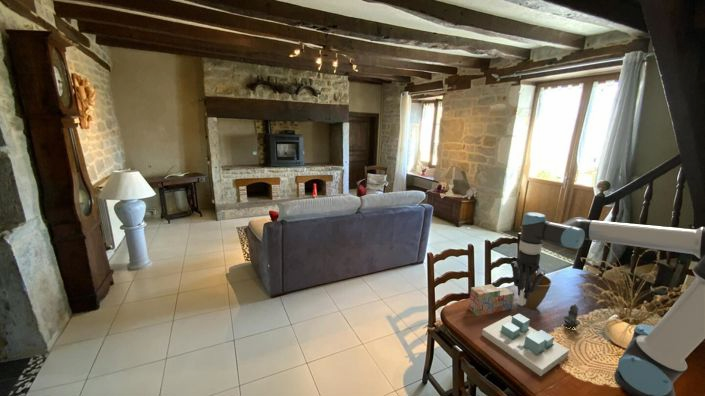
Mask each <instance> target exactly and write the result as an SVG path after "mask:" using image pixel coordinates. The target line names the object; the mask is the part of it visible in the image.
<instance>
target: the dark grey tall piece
mask: <svg viewBox="0 0 705 396" xmlns="http://www.w3.org/2000/svg"><path fill="white" fill-rule="evenodd" d="M567 312H568V315H566V316H564V317H563V320H564V323H563V324H562V326H563V327H564V326H565V327H567V328H570V327H571V328H570V329H572V328H573V327H576V328H577V327H578V326H579V325H580V321H579V320H578V318H577V317H578V315H579V313H578V312H579V307H578V306H577V304H572V305H570V308H569V310H568V311H567ZM565 327H564V328H565ZM567 328H566V329H567ZM573 329H574V328H573Z"/></svg>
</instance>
